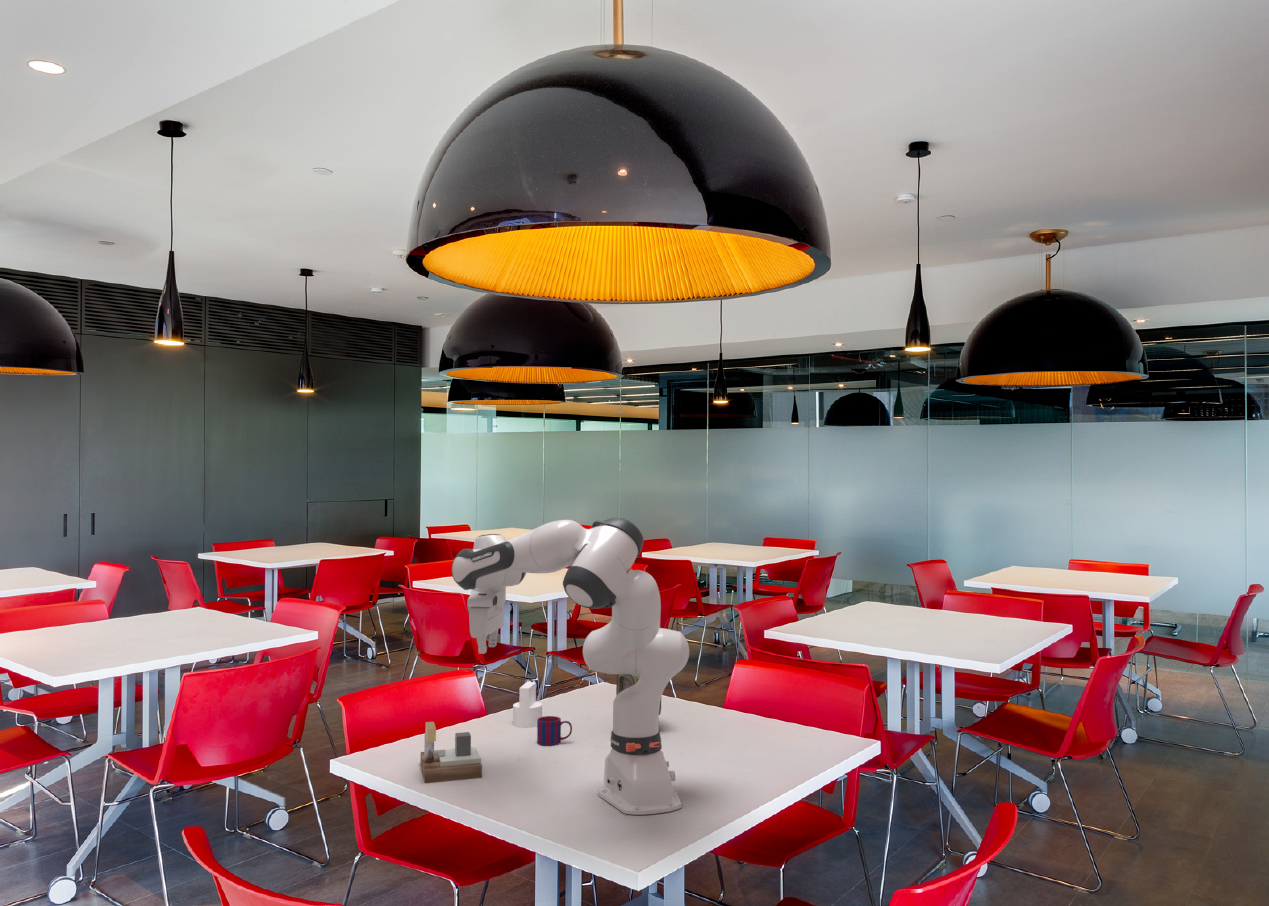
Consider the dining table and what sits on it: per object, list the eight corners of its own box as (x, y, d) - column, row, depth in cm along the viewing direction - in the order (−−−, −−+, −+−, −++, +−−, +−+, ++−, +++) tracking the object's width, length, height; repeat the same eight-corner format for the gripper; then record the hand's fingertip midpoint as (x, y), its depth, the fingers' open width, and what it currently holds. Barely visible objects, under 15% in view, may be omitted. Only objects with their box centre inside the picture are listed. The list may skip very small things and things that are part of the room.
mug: (541, 738, 248) (541, 715, 249) (574, 741, 246) (574, 717, 247) (534, 745, 242) (534, 721, 242) (567, 747, 240) (568, 723, 240)
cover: (480, 763, 216) (481, 738, 216) (440, 766, 213) (441, 741, 213) (475, 751, 225) (476, 728, 226) (437, 755, 222) (437, 731, 223)
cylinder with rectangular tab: (517, 719, 269) (517, 681, 270) (545, 720, 268) (545, 682, 269) (509, 727, 261) (509, 687, 261) (537, 728, 259) (538, 688, 260)
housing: (481, 777, 214) (481, 765, 214) (424, 783, 210) (424, 770, 210) (473, 758, 229) (473, 747, 229) (420, 763, 225) (420, 752, 225)
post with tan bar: (447, 767, 211) (448, 727, 212) (426, 769, 210) (426, 729, 210) (444, 757, 219) (445, 719, 220) (423, 759, 218) (424, 721, 218)
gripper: (487, 591, 231) (486, 642, 231) (465, 600, 211) (464, 656, 210) (510, 592, 231) (509, 643, 230) (490, 601, 210) (489, 657, 210)
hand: (487, 649), depth 220 cm, fingers open, 8 cm apart
